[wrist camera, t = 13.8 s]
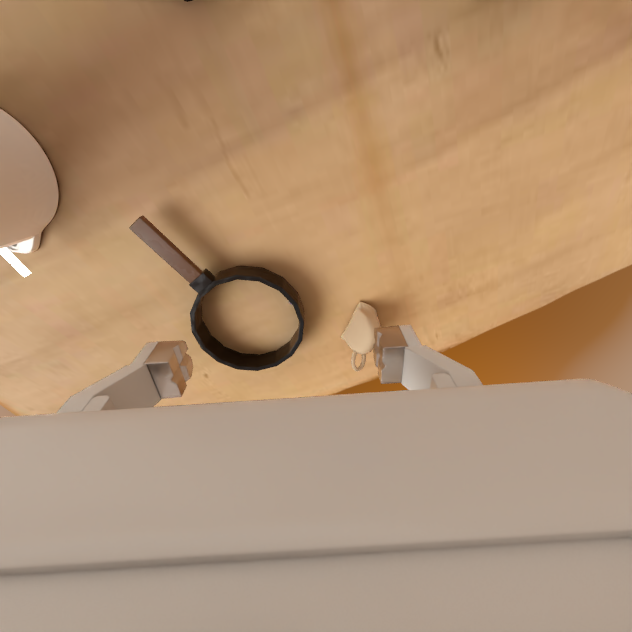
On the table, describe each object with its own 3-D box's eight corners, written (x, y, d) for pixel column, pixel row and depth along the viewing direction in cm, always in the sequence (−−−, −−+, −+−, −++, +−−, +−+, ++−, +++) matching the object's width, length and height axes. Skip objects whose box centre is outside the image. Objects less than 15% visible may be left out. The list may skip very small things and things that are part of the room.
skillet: (324, 321, 47) (325, 333, 45) (250, 372, 52) (247, 385, 49) (187, 173, 37) (177, 177, 34) (109, 253, 41) (95, 262, 39)
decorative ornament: (385, 309, 47) (393, 329, 42) (358, 352, 51) (364, 374, 46) (360, 299, 46) (366, 319, 41) (335, 344, 50) (338, 366, 45)
